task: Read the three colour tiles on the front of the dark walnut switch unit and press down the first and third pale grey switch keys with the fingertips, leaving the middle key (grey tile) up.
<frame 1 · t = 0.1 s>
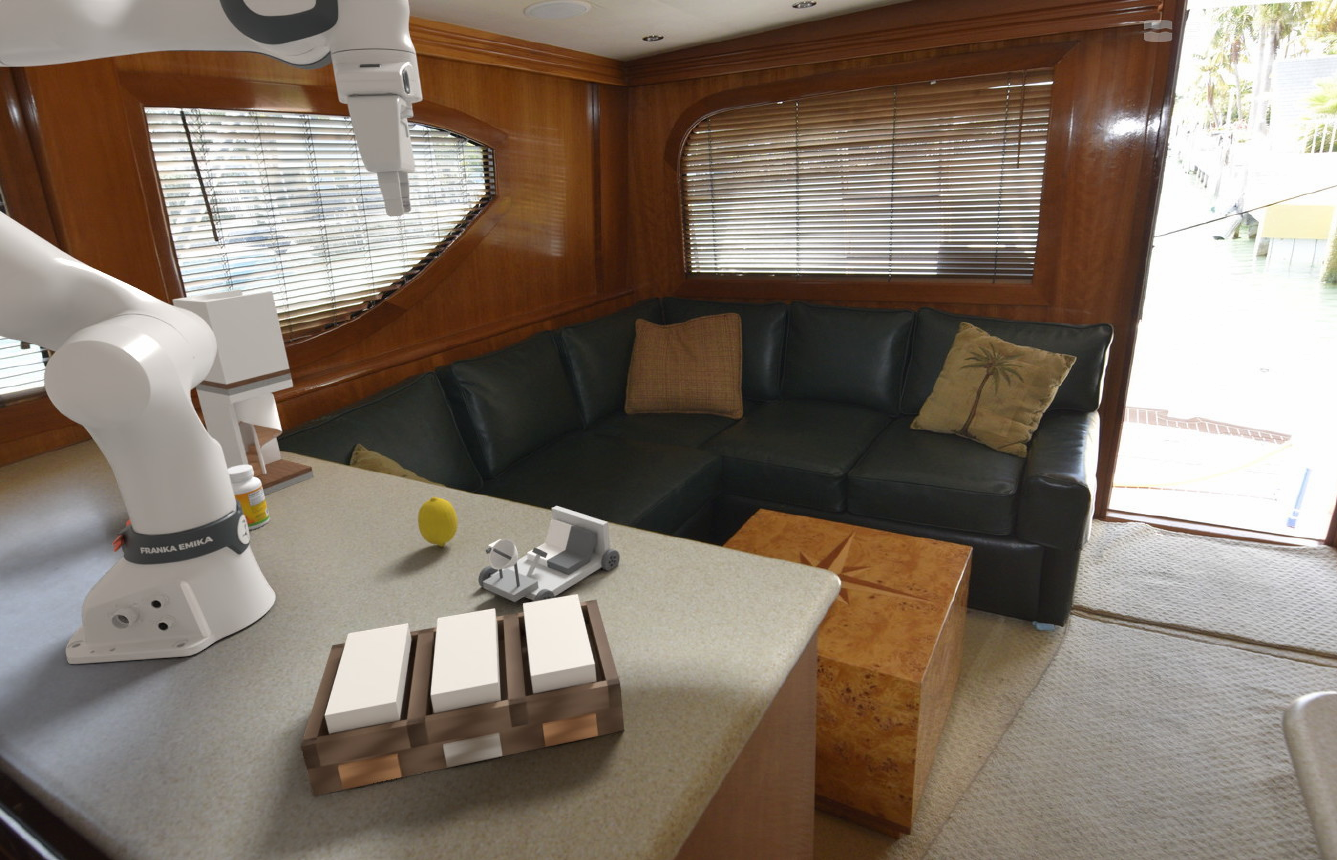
hand: (400, 214, 87), 48 cm above the kitchen counter, tool pointing down, fingers open, 8 cm apart
white tiered stand: (269, 483, 140), on the kitchen counter
supplement bottle: (252, 525, 123), on the kitchen counter
toy car: (544, 584, 101), on the kitchen counter
lemon: (442, 547, 112), on the kitchen counter
switch 1: (372, 673, 73), point 6 cm above the kitchen counter, slide at 0.0 cm
switch 2: (467, 656, 75), point 6 cm above the kitchen counter, slide at 0.0 cm
switch unit: (475, 708, 77), on the kitchen counter
switch 3: (557, 640, 76), point 6 cm above the kitchen counter, slide at 0.0 cm
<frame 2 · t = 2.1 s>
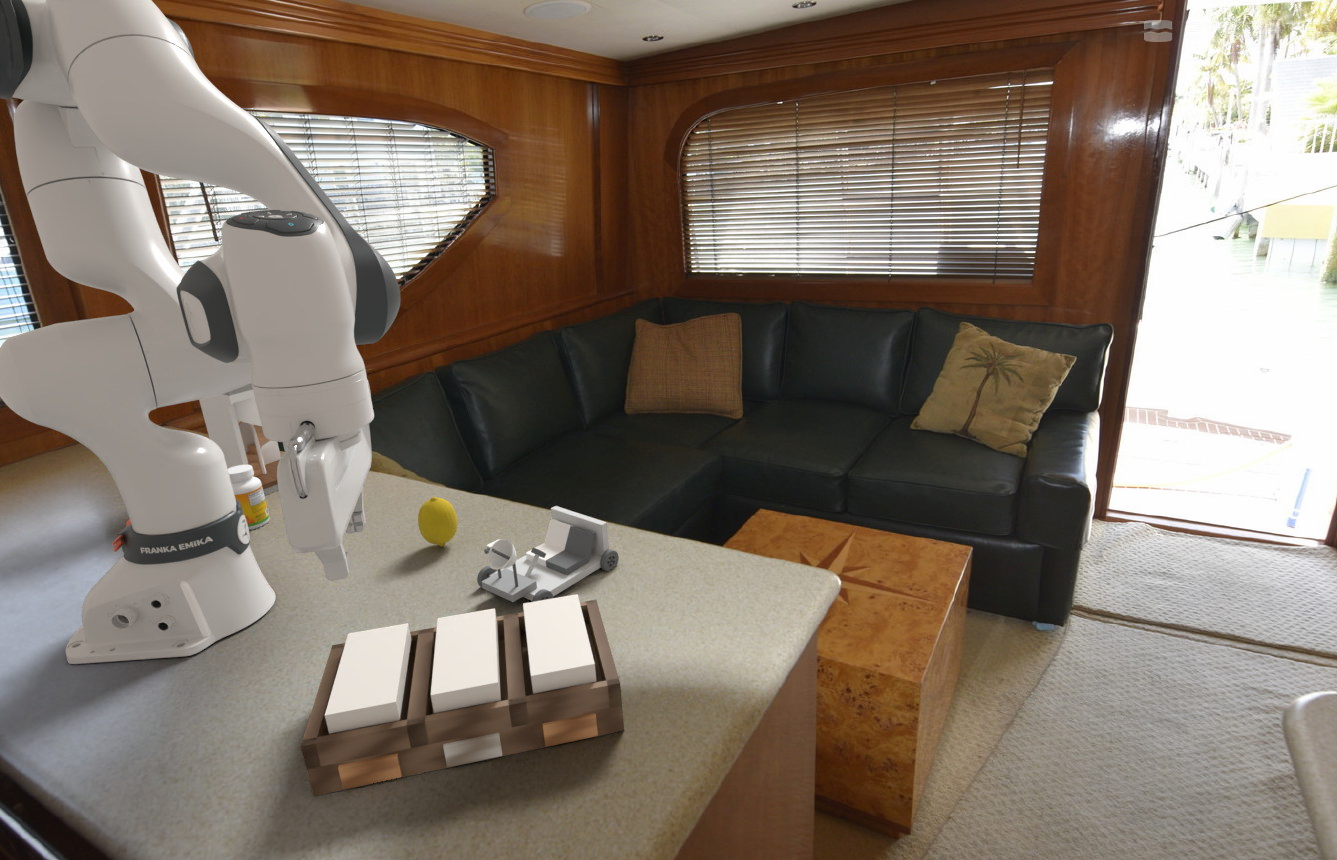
hand: (348, 551, 68), 20 cm above the kitchen counter, tool pointing down, fingers open, 8 cm apart
nothing on the kitchen counter moved.
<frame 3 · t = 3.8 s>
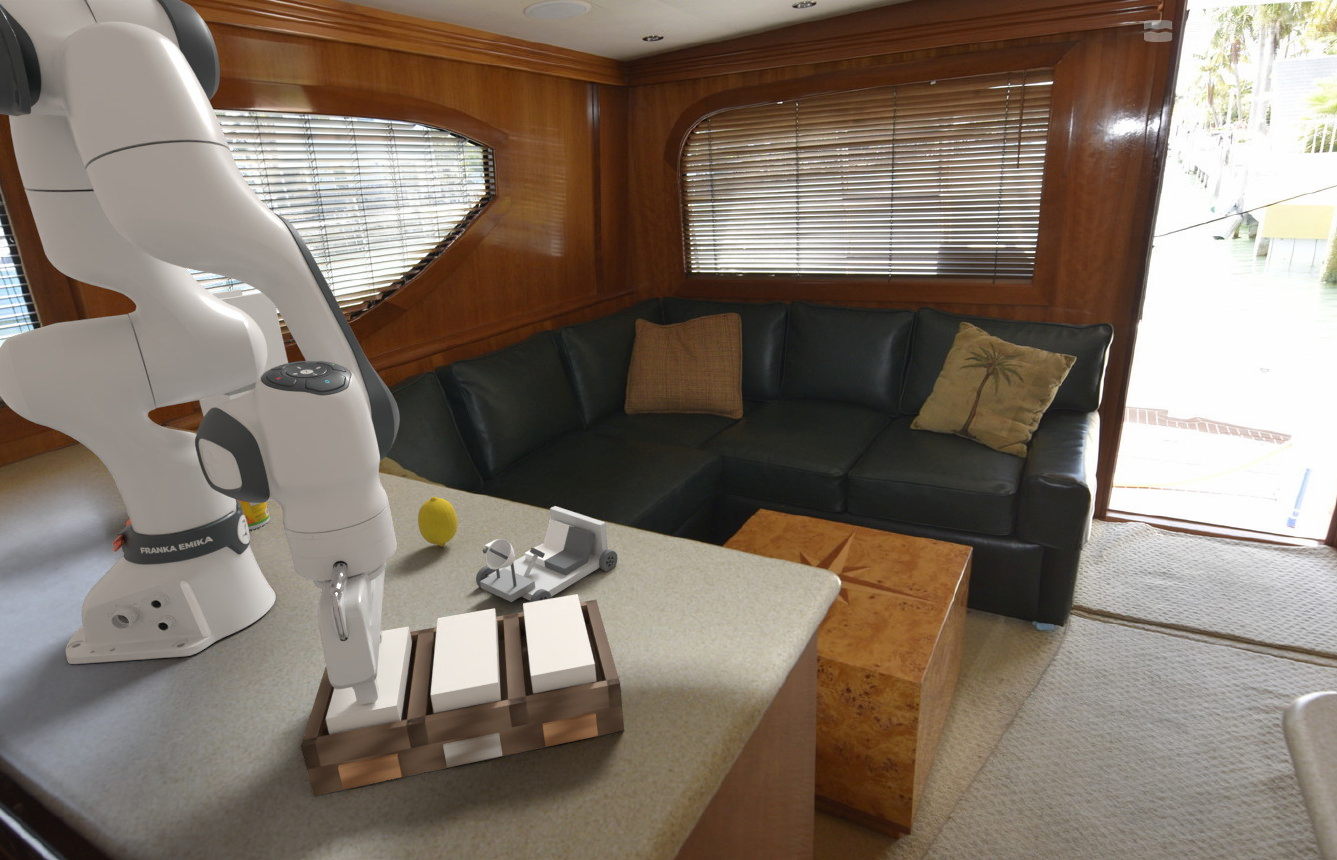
hand: (371, 669, 72), 7 cm above the kitchen counter, tool pointing down, fingers open, 8 cm apart
switch 1: (372, 677, 73), point 6 cm above the kitchen counter, slide at 0.4 cm, touching gripper
everything else where it was.
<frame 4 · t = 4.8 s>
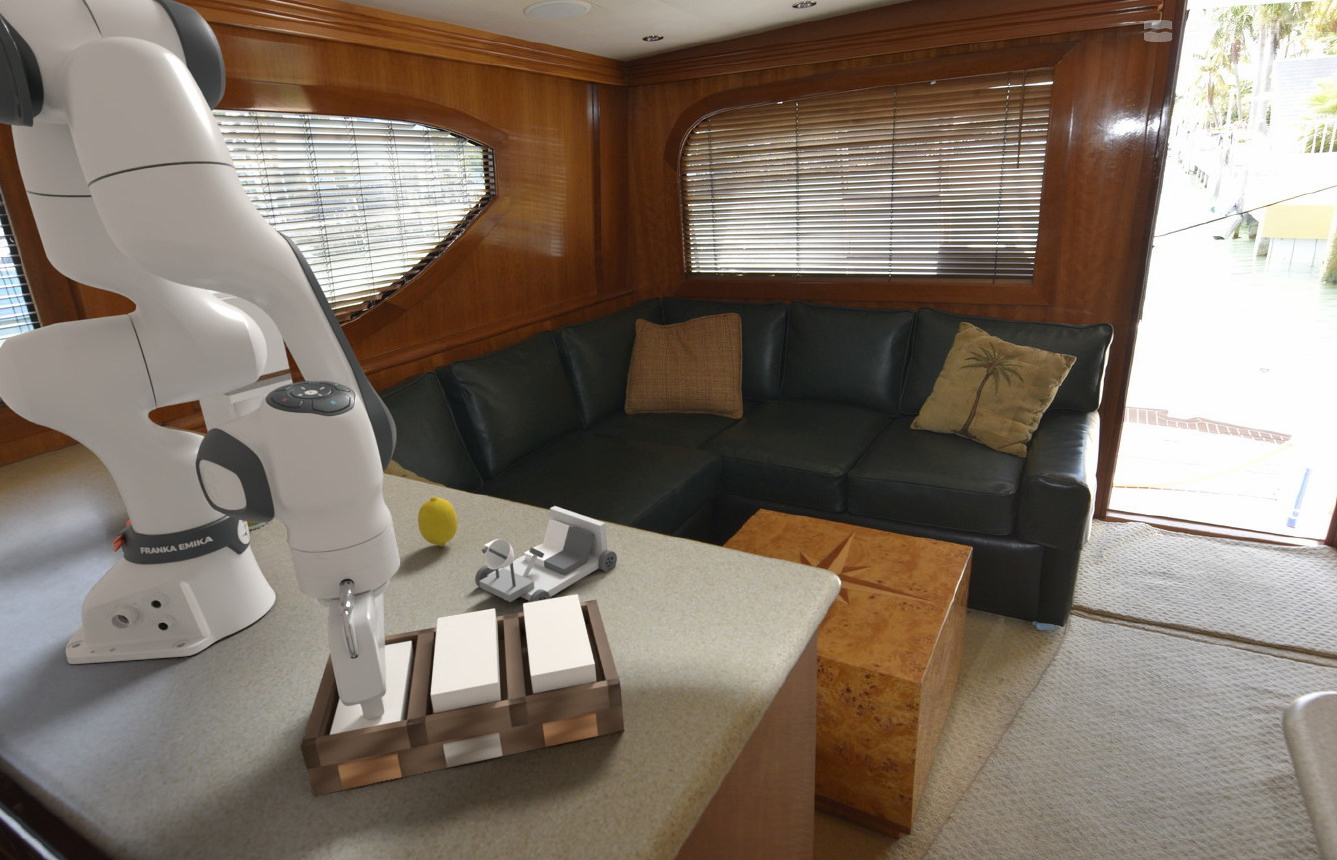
hand: (374, 684, 73), 5 cm above the kitchen counter, tool pointing down
switch 1: (376, 692, 73), point 4 cm above the kitchen counter, slide at 2.2 cm, touching gripper
everything else where it was.
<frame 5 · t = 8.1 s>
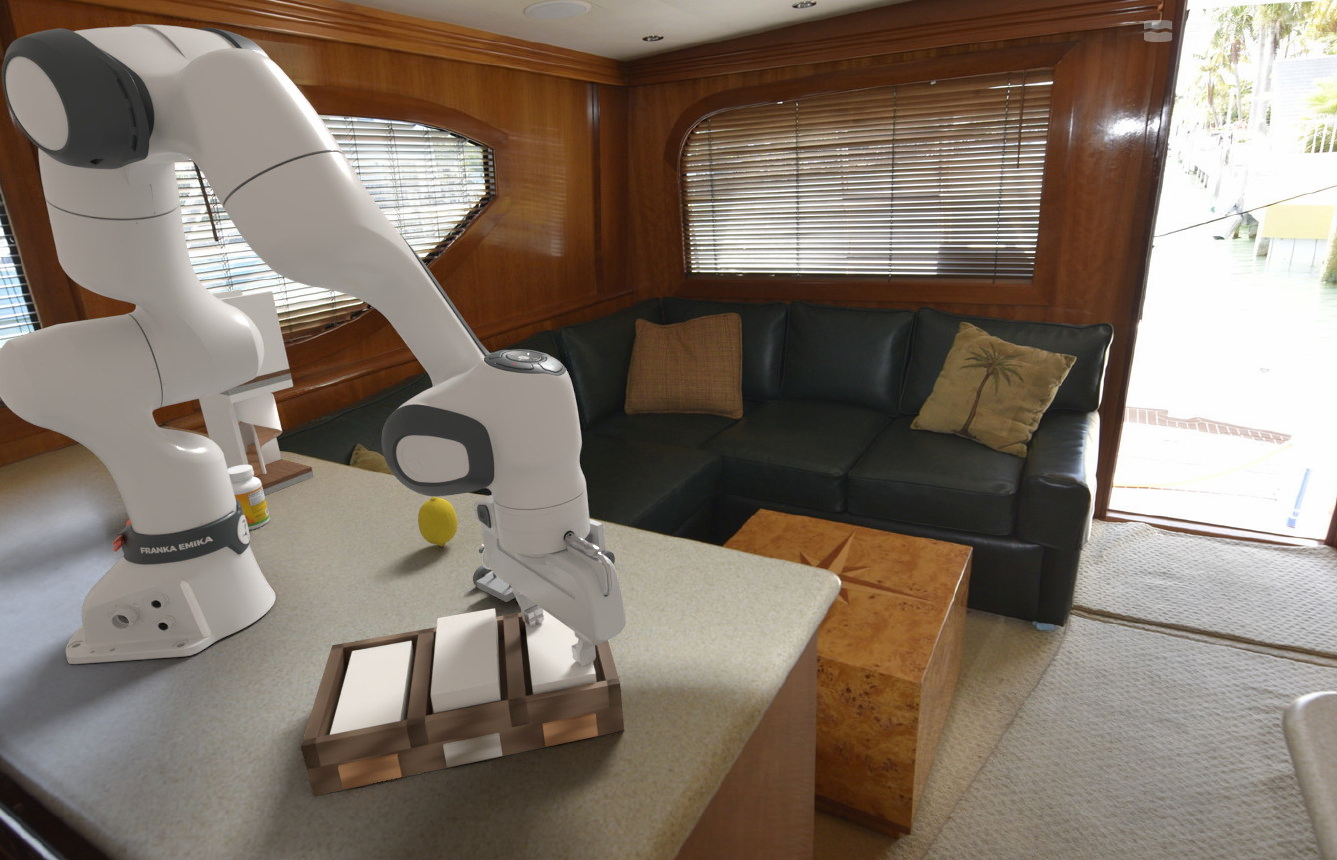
hand: (558, 640, 76), 6 cm above the kitchen counter, tool pointing down, fingers open, 8 cm apart
switch 1: (376, 692, 73), point 4 cm above the kitchen counter, slide at 2.2 cm
switch 3: (558, 648, 77), point 5 cm above the kitchen counter, slide at 1.1 cm, touching gripper
everything else where it was.
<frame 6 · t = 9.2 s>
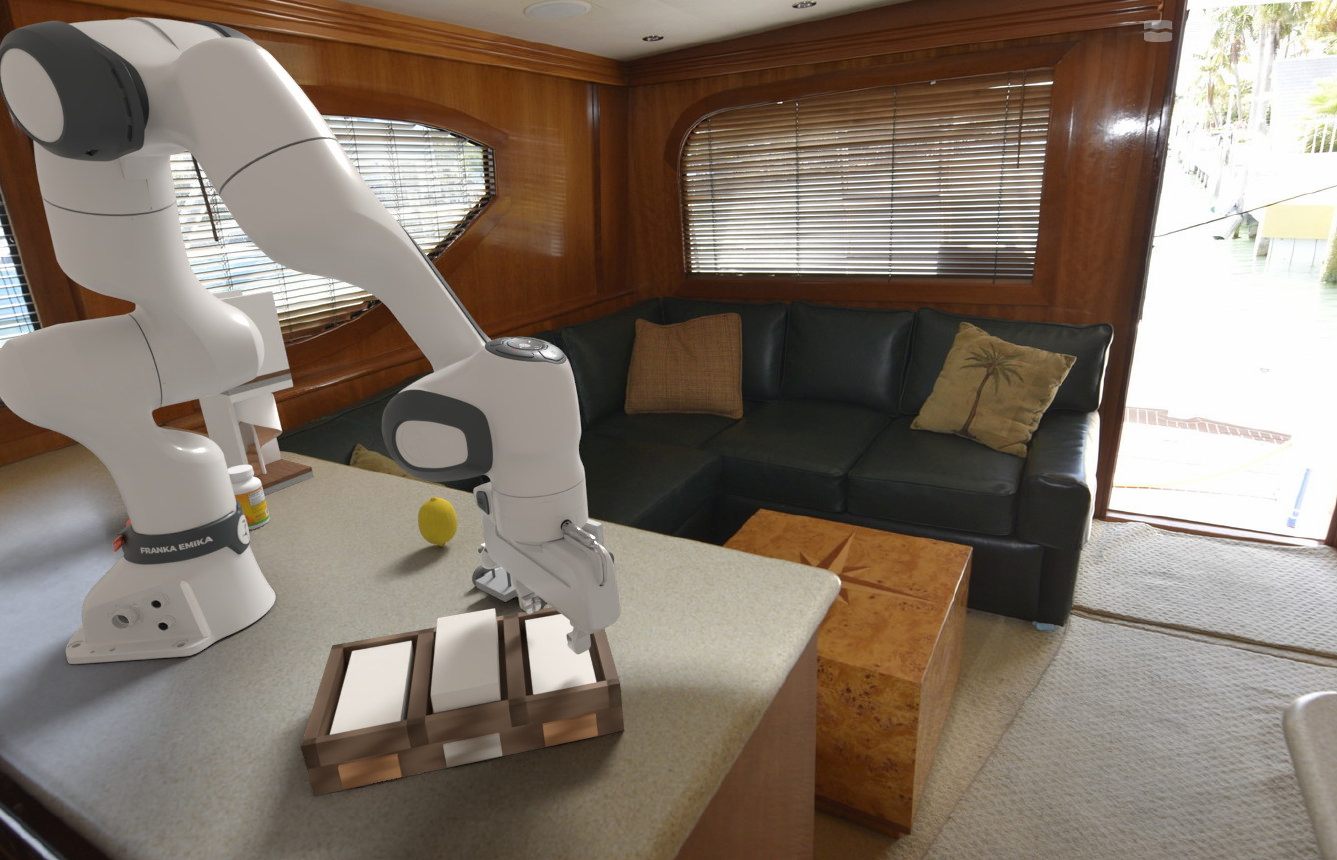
hand: (554, 628, 77), 7 cm above the kitchen counter, tool pointing down, fingers open, 8 cm apart
switch 3: (559, 657, 77), point 4 cm above the kitchen counter, slide at 2.1 cm
everything else where it was.
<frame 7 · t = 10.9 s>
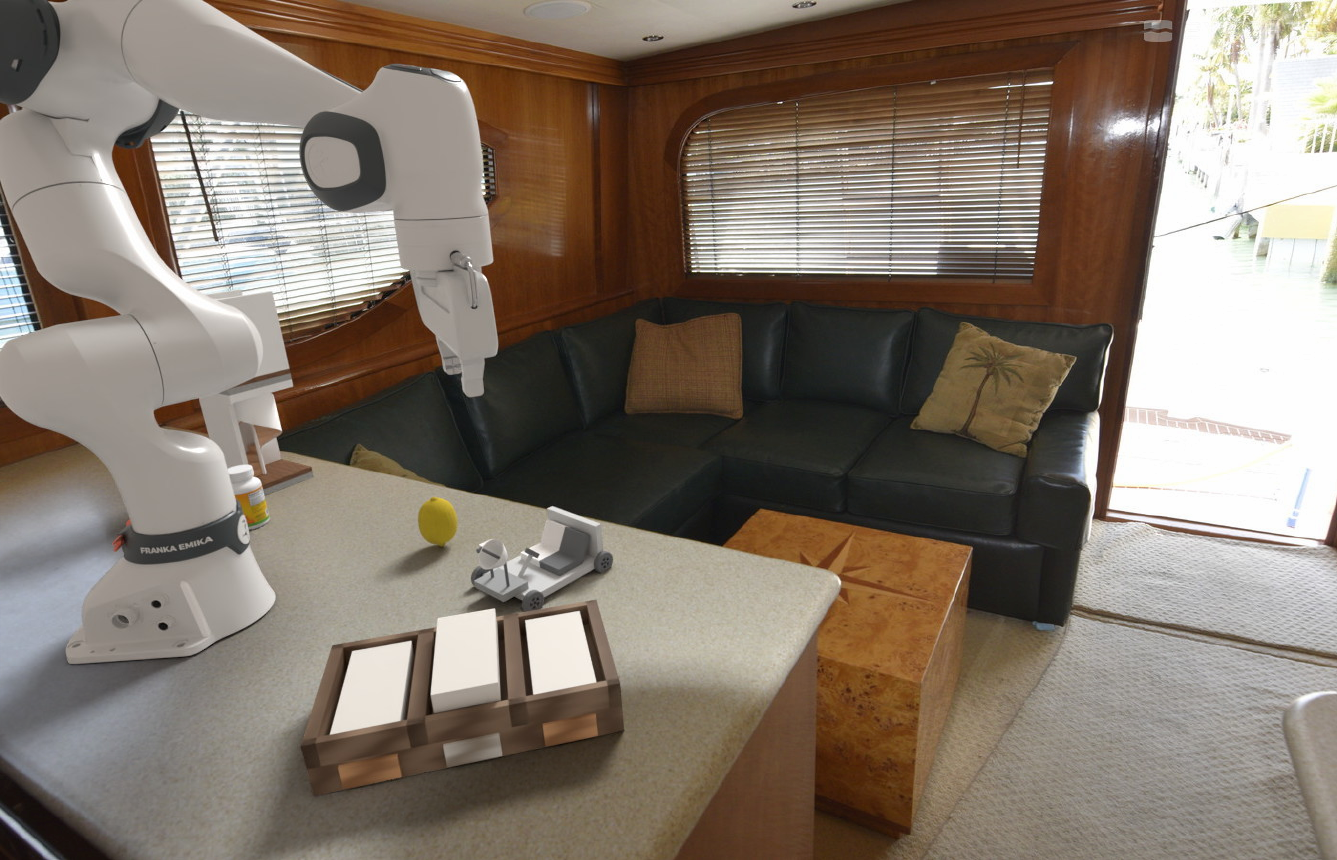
hand: (463, 383, 78), 31 cm above the kitchen counter, tool pointing down, fingers open, 8 cm apart
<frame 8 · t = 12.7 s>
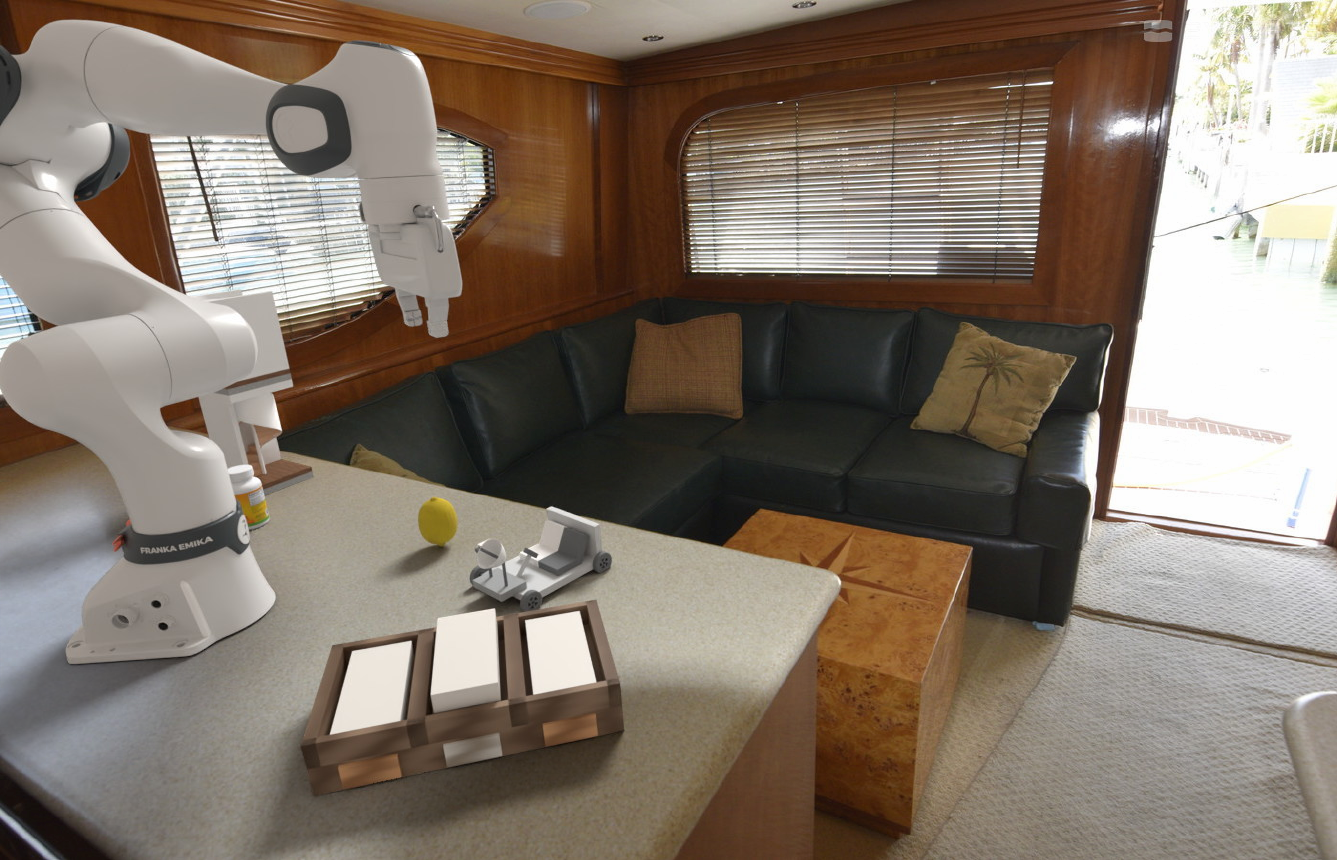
hand: (426, 330, 86), 35 cm above the kitchen counter, tool pointing down, fingers open, 8 cm apart
at the end: switch 1 slide at 2.2 cm; switch 3 slide at 2.1 cm; switch 2 slide at 0.0 cm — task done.
